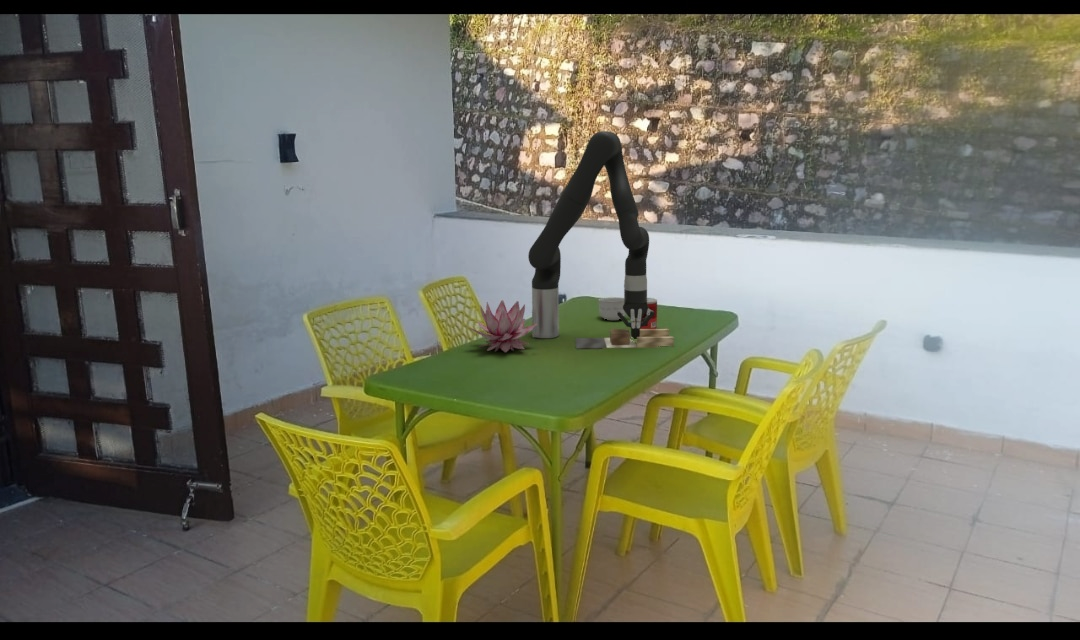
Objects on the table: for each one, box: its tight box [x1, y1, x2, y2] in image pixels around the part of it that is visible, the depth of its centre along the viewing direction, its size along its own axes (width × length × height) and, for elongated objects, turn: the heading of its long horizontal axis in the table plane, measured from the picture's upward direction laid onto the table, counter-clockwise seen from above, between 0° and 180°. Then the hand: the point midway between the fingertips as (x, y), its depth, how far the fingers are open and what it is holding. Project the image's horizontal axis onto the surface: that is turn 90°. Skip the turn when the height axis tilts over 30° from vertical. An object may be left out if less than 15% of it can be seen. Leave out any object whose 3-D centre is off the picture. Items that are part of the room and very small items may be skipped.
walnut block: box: [609, 328, 631, 345], centre depth 271 cm, size 6×6×4 cm
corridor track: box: [574, 328, 675, 350], centre depth 272 cm, size 32×13×3 cm, turn 90°
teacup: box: [598, 296, 628, 321], centre depth 306 cm, size 14×11×8 cm
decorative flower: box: [470, 300, 537, 353], centre depth 265 cm, size 21×21×15 cm
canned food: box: [635, 297, 658, 329], centre depth 289 cm, size 8×8×11 cm
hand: (635, 338), depth 272 cm, fingers closed
